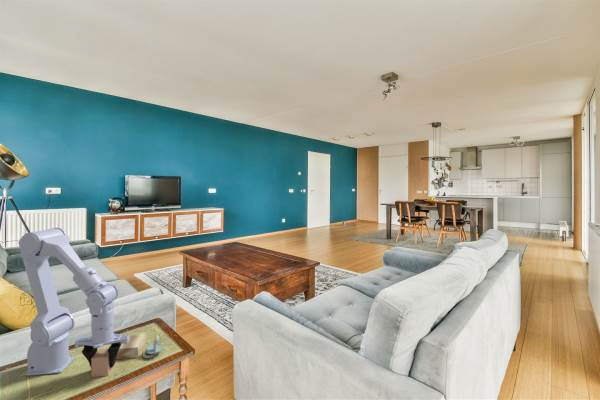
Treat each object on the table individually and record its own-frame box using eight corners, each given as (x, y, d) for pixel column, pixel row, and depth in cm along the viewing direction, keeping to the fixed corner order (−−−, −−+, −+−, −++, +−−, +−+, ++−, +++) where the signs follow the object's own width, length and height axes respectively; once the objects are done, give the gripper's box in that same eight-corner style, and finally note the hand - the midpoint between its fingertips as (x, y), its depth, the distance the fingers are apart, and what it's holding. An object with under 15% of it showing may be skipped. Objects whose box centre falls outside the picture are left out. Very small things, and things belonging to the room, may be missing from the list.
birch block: (111, 359, 95) (111, 349, 95) (121, 345, 103) (121, 336, 103) (137, 357, 97) (137, 347, 97) (145, 343, 105) (145, 334, 104)
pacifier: (141, 362, 95) (161, 357, 98) (141, 344, 94) (161, 339, 97) (143, 349, 102) (162, 345, 104) (142, 333, 101) (161, 329, 104)
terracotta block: (91, 377, 87) (91, 358, 86) (98, 367, 91) (98, 349, 91) (108, 375, 88) (107, 357, 87) (114, 366, 92) (114, 348, 92)
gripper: (68, 333, 83) (69, 377, 84) (123, 329, 86) (123, 372, 87) (81, 321, 90) (82, 362, 91) (132, 318, 93) (132, 358, 94)
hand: (103, 366), depth 89 cm, fingers closed on terracotta block, 4 cm apart
